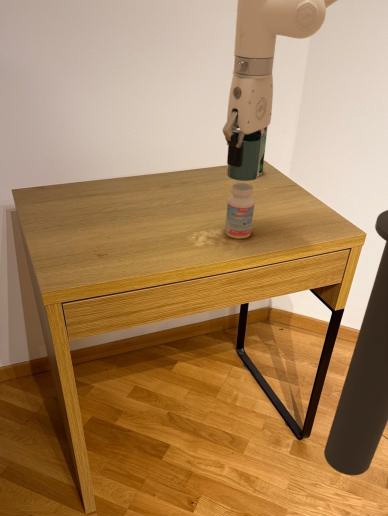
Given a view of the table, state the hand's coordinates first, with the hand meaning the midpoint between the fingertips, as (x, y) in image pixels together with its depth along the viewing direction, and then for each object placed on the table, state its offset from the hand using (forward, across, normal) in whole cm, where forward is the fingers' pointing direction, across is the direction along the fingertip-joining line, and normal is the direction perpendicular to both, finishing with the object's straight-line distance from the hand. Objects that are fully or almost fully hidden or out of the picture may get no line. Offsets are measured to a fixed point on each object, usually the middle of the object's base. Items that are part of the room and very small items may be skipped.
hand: (244, 160), depth 105 cm
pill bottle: (+17, 0, 0) cm, 17 cm away
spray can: (+17, +37, +19) cm, 45 cm away
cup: (+3, 0, 0) cm, 3 cm away
